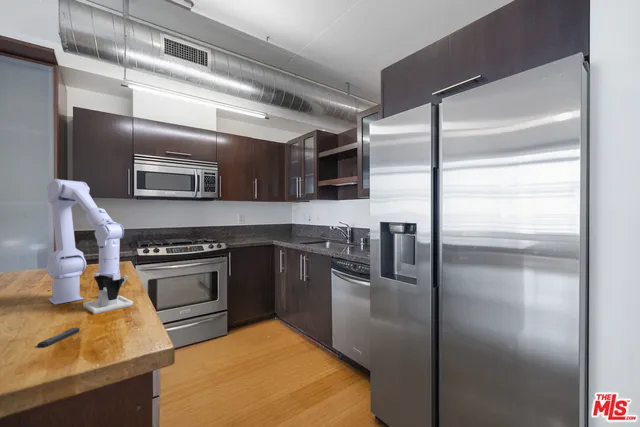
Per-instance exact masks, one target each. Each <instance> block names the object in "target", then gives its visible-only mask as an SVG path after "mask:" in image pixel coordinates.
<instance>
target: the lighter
mask: <svg viewBox="0 0 640 427" xmlns="http://www.w3.org/2000/svg"><path fill="white" fill-rule="evenodd" d="M121 278H124V282H123V283H122V285H121V287H123V286H124V284H125V283H126V281H127V280H128V278H129V275H126V274H124V275H123V276H122V277H121ZM119 292H120V291H119ZM119 292H118V296H120V295H119V294H120V293H119Z"/></svg>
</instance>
